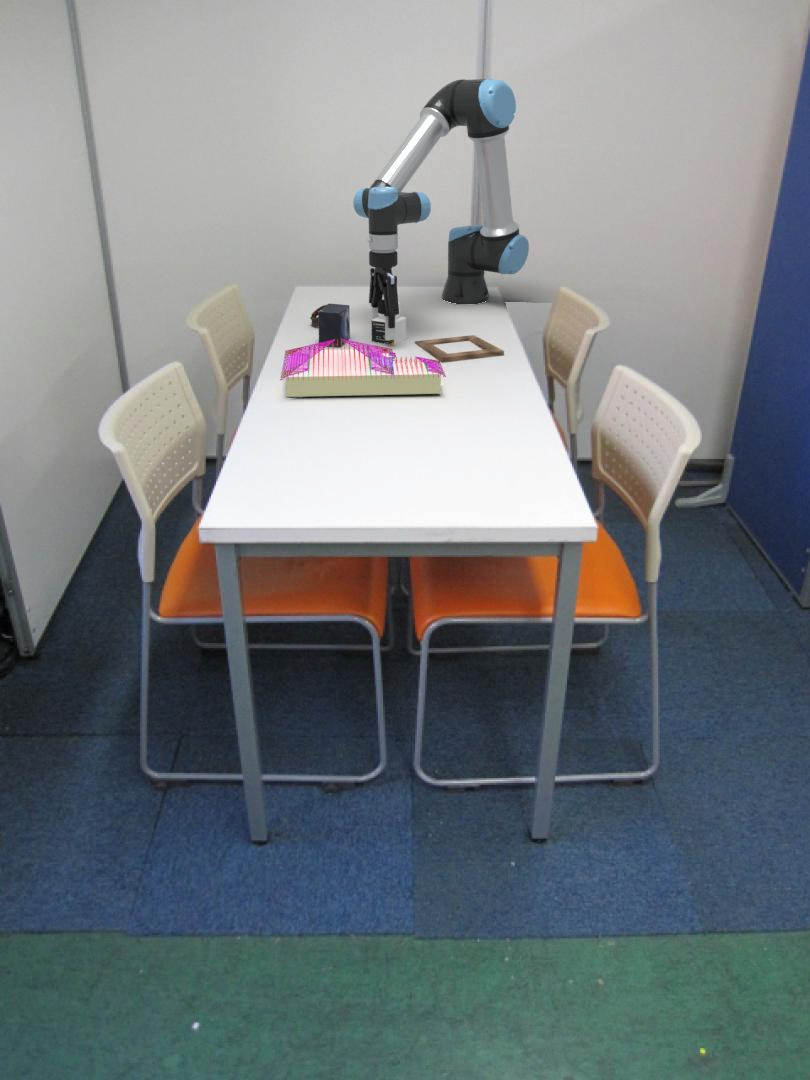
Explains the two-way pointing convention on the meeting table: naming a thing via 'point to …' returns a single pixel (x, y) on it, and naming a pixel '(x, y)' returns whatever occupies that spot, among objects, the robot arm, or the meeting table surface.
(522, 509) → the meeting table surface
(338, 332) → the small box
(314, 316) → the pottery mug
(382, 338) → the medicine bottle
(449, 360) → the brown square frame
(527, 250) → the robot arm
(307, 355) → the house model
